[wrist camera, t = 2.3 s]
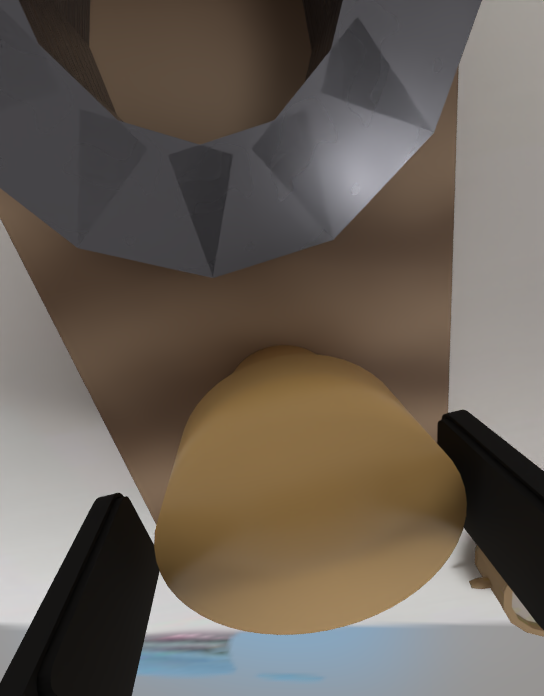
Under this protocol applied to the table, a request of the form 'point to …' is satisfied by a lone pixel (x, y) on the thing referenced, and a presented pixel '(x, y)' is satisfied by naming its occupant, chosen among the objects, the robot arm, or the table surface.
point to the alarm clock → (503, 594)
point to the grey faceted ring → (227, 152)
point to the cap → (304, 498)
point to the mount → (251, 282)
